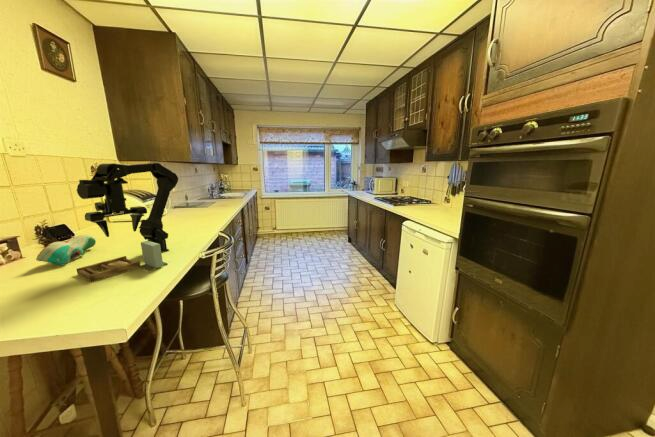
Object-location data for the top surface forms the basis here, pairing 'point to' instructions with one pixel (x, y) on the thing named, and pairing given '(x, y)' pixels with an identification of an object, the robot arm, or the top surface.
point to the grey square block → (152, 254)
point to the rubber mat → (148, 267)
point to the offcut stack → (117, 264)
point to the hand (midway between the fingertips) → (121, 233)
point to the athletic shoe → (66, 250)
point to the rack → (106, 269)
